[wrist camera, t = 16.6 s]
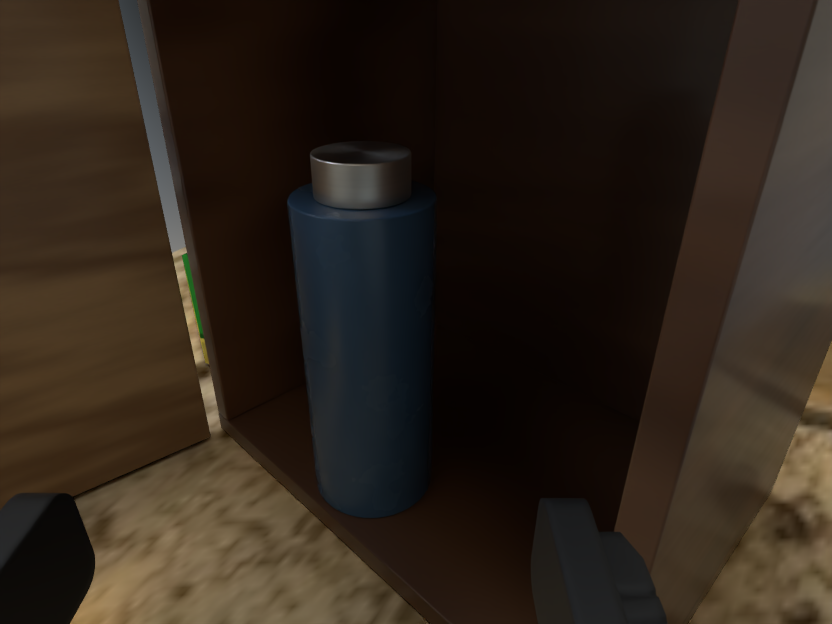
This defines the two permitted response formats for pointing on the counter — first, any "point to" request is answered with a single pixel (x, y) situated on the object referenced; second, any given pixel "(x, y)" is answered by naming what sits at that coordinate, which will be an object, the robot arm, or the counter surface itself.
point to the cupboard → (529, 258)
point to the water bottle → (367, 323)
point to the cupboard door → (83, 262)
